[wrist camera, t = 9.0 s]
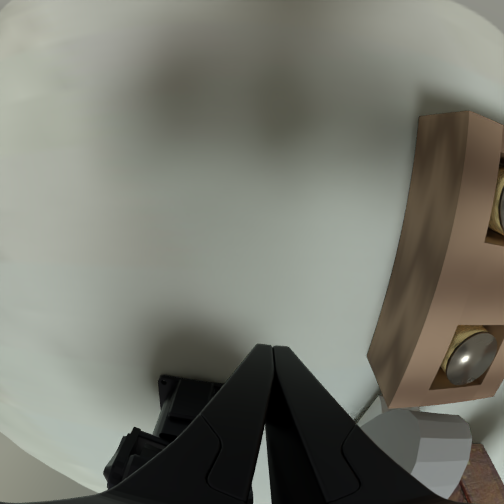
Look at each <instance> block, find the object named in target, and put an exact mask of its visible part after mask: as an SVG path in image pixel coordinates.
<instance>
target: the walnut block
mask: <svg viewBox="0 0 504 504" xmlns="http://www.w3.org/2000/svg"><path fill="white" fill-rule="evenodd" d="M499 166H500V167H504V125H502V124H499V123H497V122H495V121H493V120H491V119H488V118H486V117H484V116H481V115H479V114H476V113H474V112H472V111H460V112H451V113H442V114H433V115H425V116H419V122H418V132H417V141H416V149H415V157H414V164H413V171H412V177H411V184H410V190H409V195H408V201H407V206H406V212H405V217H404V222H403V227H402V231H401V236H400V241H399V245H398V249H397V254H396V258H395V262H394V266H393V270H392V274H391V278H390V282H389V285H388V289H387V293H386V296H385V300H384V303H383V307H382V310H381V313H380V317H379V320H378V323H377V326H376V330H375V333H374V336H373V339H372V342H371V345H370V348H369V351H368V354H367V358H368V361H369V363H370V365H371V368H372V370H373V373H374V375H375V377H376V380H377V382H378V385H379V387H380V390H381V392H382V395H383V397H384V400H385V402H386V405H387V407H388V409H392V408H407V407H420V406H430V405H440V404H448V403H456V402H463V401H470V400H476V399H482V398H488V397H493V396H494V395H495V393H496V391H497V390H498V388H499V386H500V384H501V383H502V381H503V379H504V235H502V234H500V233H498V232H496V231H494V230H492V229H490V228H488V225H489V220H490V215H491V211H492V206H493V200H494V195H495V189H496V183H497V176H498V169H499ZM458 325H482V326H483V327H484V328H485V329H486V330H487V331H488V332H489V333H491V334H492V335H493V336H494V337H495V339H496V341H497V351H496V354H495V357H494V359H493V361H492V363H491V364H490V366H489V367H488V369H487V370H486V371H485V372H484V373H483V374H482V375H481V376H480V377H478V378H477V379H475V380H474V381H472V382H470V383H468V384H465V385H454V384H452V383H451V382H450V381H449V380H448V378H447V376H446V374H445V372H444V371H443V369H442V368H441V366H440V365H441V363H442V361H443V359H444V357H445V354H446V352H447V350H448V347H449V345H450V343H451V340H452V338H453V336H454V333H455V331H456V328H457V326H458Z"/></svg>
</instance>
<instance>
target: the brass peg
mask: <svg viewBox="0 0 504 504" xmlns="http://www.w3.org/2000/svg"><path fill="white" fill-rule="evenodd" d="M496 351H497V341H496V339H495V337H494V336H493V335H492V334H491V333H489V332H488V331H487V330H486V329H485V328H484V327H483V326H482V325H458V326H457V328H456V331H455V333H454V336H453V338H452V340H451V343H450V345H449V347H448V350H447V352H446V354H445V357H444V359H443V361H442V363H441V365H440V366H441V368H442V369H443V371H444V372H445V374H446V376H447V378H448V380H449V381H450V382H451V383H452V384H454V385H465V384H468V383H470V382H472V381H474V380H475V379H477V378H478V377H480V376H481V375H482V374H483V373H484V372H485V371H486V370H487V369H488V367H489V366H490V364H491V363H492V361H493V359H494V357H495V354H496Z"/></svg>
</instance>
